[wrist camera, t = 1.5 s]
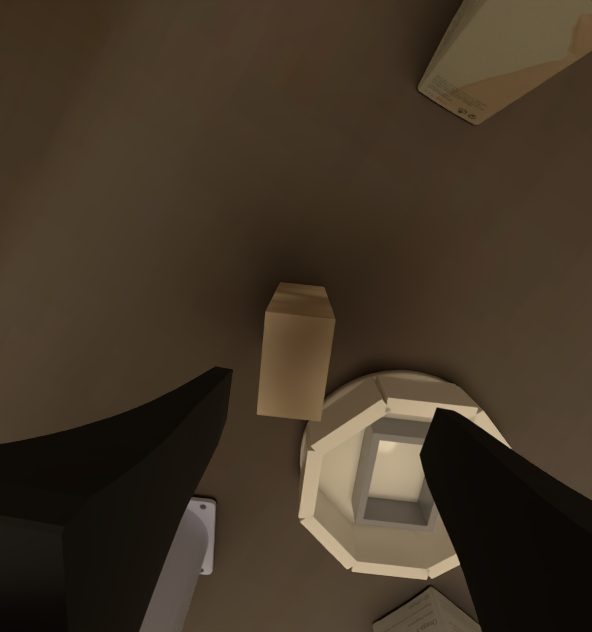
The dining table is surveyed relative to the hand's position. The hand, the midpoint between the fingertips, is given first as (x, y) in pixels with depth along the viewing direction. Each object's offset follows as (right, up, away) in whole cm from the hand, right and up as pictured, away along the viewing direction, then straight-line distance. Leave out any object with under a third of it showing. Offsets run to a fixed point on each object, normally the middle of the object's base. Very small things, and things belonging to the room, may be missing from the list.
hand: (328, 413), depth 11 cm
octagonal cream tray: (+6, -7, +13) cm, 17 cm away
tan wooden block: (-1, +3, +11) cm, 11 cm away
